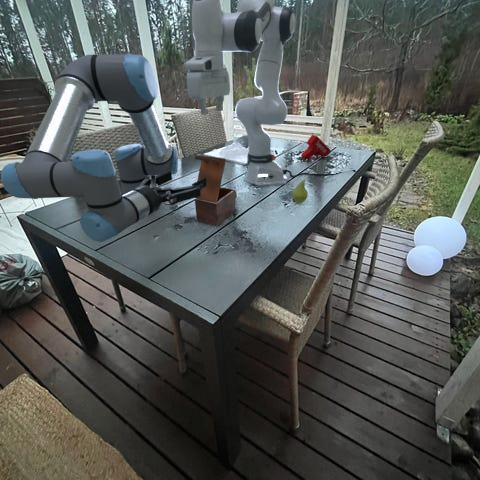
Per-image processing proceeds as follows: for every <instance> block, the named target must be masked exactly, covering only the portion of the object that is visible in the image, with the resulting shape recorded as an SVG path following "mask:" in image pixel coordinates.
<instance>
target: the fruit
mask: <svg viewBox="0 0 480 480" xmlns="http://www.w3.org/2000/svg"><path fill="white" fill-rule="evenodd" d="M310 177H311V175H308V176H307V177H305V179H302V180H301V181H300V182H298V184H297V185H296V186H295V187H294V188H293V190H292V191H291V198H292V200H293V201H294V202H295V203H297V204H301V203H304V202H305V201H306V200H307V198H308V196H309V195H308V190H307V189H306V184H305V183H306V180H308V179H309V178H310Z"/></svg>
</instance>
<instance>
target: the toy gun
mask: <svg viewBox="0 0 480 480" xmlns="http://www.w3.org/2000/svg"><path fill="white" fill-rule="evenodd" d="M306 144H307V145H308V147H307V148H306V149H305V150H303V152H302V153H301V154H300V155H301V160H304V159H305V160H304V161H307V162H309V161H310V159H311V158H312V157H313V156H316V157H318V156H319V155H321V156H319V157H320V158H324V159H327V158H326V157H322V156H326V155H328V156H329V155H330V153H331V152H332V150H331V149H330V148H329V147H328V146H327V145H326V144H325V143H324V142H323V141H322V140H321V138H319V136H317V135H314V134H311V136H310V137H309V138H308V139H307V142H306ZM306 159H309V160H306Z"/></svg>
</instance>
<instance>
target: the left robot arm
mask: <svg viewBox="0 0 480 480" xmlns="http://www.w3.org/2000/svg"><path fill="white" fill-rule="evenodd" d="M157 84H158V83H157V80H156V75H155V72H154V69H153V67H152V65H151V63H150V61H149V60H148V58H146V57H145V56H144V55H140V54H134V53H125V54H95V53H94V54H93V53H92V54H86V55H83V56H80V57H78V58H76V59H75V60H73V61H71V62H70V63H69V64H68V65H67V66H66V67H65V68H64V69H62V71H60V73H59V75H58V77H57V78H56V80H55V82H54V85H53V90H54V93H55V94H54V95H53V98H52V100H51V102H50V104H49V106H48V108H47V110H46V112H45V114H44V116H43V118H42V121H41V122H40V124H39V127H38V129H37V131H36V133H35V135H34V137H33V139H32V141H31V143H30V145H29V148H28V149H27V152H26V155H25V156H24V158H23V160H22V162H18V161H16V162H11V163H8V164H6V165H4V166H3V167H2V169H1V170H0V171H1V172H0V181H1V184H2V186H3V189H4V190H5V191H6V192H7V193H8V194H9V195H11V197H14V198H16V199H29V200H30V199H31V200H38V199H51V198H52V199H55V198H56V199H57V198H84V200H85V204H86V206H87V209H88V210H87V211H85V212H84V213H82V214H81V215H80V218H79V220H80V221H79V222H80V223H79V224H80V227H81V229H82V231H83V232H84V234H85V235H86V236H87V237H88V238H89V239H91V240H92V241H94V242H97V243H103V242H106V241H107V240H109V239H112V238H113V237H116V236H118V235H119V234H120V233H123V231H125V230H126V229H128V228H129V227H132V226H133V225H135V224H137V223H138V222H140V221H142V220H144V219H145V218H147V217H148V216H151V215H153V214H154V213H156V212H157V211H158V210H159V209H160V207H161V206H162V204H164V203H167V202H168V203H169V205H170V206H175V205H177V204H179V203H181V202H186V201H189V200H192V199H196V197H199V196H201V190H202V189H203V188H204V187H206V186H207V185H206V178H205V177H204V178H202V179H200V180H198V179H197V180H198V181H195V182H193V183H192V184H191V185H188V186H182V187H176V188H173V187H164V188H163V187H160V186H162V185H164V184H166V183H168V182H170V181H173V175H176V174H177V173H178V170H179V156H178V148H177V147H176V146H172V145H171V143H169V141H167V140H166V138H165V135H164V132H163V130H162V127H161V124H160V122H159V119H158V118H159V117H158V116H157V113H156V110H155V108H154V104H155V100H156V99H157V98H158V85H157ZM98 102H117V104H118V107H119V108H120V109H121V110H122V111H123V112H125V113H126V114H128V116H129V118H130V120H131V123H132V124H133V126H134V129H135V130H136V133H137V134H138V136H139V138H140V141H141V143H142V144H141V143H129V144H126V145H123V146H120V147H119V146H118V147H117V148H116V149H115V150H114V159H115V161H114V162H115V165H116V168H117V170H116V168H115V165H114V163H113V160H112V156H111V155H110V153H109V152H108V151H106V150H103V149H88V150H87V149H86V150H85V149H84V150H81V151H77V152H75V153H73V154H72V152H73V149H74V146H75V144H76V142H77V138H78V137H79V133H80V130H81V127H82V125H83V123H84V120H85V117H86V114H87V111H89V110H91V109H93V107H94V106H95V104H96V103H98ZM142 145H143V146H142ZM70 157H71V161H69V160H70ZM117 171H118V175H119V179H120V184H121V186H120V184H119V179H118V176H117ZM155 175H158V176H155ZM148 176H150V177H148ZM169 193H170V194H169Z"/></svg>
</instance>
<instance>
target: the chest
mask: <svg viewBox="0 0 480 480" xmlns="http://www.w3.org/2000/svg"><path fill="white" fill-rule="evenodd" d="M236 192H237V191H236V189H234V188H229V187H223V186H220V190H219V195H218V199H217V203H215V202H211V201H206V200H202V199H197V198H194V207H195V216H196V217H195V218H196V221H197V222H200V223H205V224H209V225H213V226H220V224H222V223H223V222H224V221H225V220H226V219H227V218H229V216H231V215H232V214H233V213H234V212H236V210H237V200H236V199H237V197H236V194H237V193H236Z"/></svg>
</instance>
